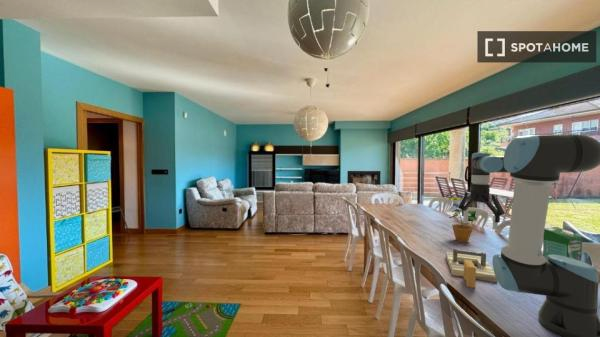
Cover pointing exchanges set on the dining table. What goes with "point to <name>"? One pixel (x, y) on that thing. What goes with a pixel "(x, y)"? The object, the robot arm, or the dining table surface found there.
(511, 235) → the robot arm
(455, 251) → the gray u-shaped bracket
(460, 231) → the potted plant
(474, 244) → the dining table surface
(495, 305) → the dining table surface
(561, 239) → the milk carton
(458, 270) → the beige open frame
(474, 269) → the orange u-shaped bracket
